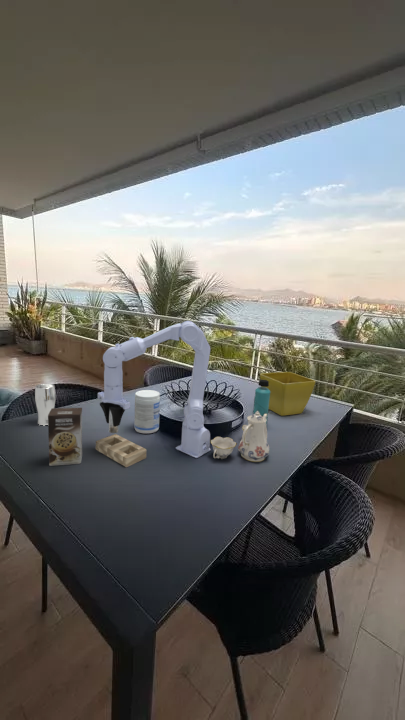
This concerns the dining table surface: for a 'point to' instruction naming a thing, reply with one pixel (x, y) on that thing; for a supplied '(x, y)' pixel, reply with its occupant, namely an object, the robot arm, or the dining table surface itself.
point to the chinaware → (246, 441)
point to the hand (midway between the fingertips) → (113, 424)
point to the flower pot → (288, 392)
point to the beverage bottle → (262, 398)
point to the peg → (111, 427)
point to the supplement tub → (147, 411)
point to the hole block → (121, 450)
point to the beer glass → (44, 401)
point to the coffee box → (65, 436)
